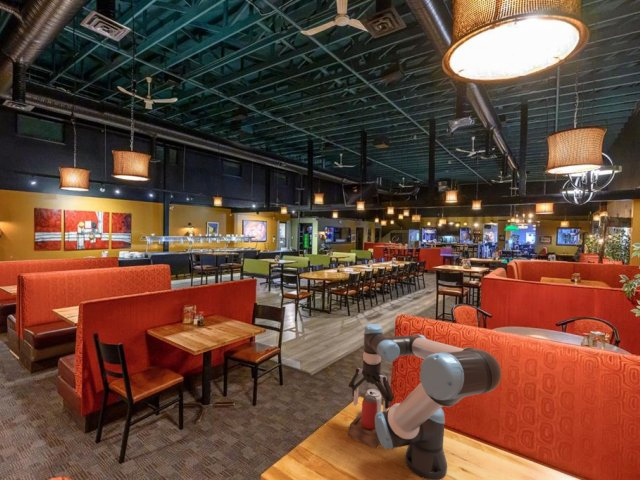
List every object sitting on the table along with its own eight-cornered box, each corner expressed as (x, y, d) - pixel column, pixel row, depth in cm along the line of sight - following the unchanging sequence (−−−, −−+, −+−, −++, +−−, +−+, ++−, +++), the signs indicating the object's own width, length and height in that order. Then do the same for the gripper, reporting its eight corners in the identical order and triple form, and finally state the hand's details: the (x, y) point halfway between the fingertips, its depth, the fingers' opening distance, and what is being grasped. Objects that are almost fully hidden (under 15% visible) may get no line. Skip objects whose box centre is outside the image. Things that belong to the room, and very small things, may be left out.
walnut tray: (388, 432, 139) (389, 420, 138) (376, 449, 128) (377, 436, 128) (361, 421, 146) (362, 410, 146) (348, 436, 135) (348, 424, 135)
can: (364, 411, 154) (365, 387, 154) (380, 413, 153) (381, 388, 153) (364, 420, 147) (365, 395, 146) (381, 422, 146) (382, 397, 145)
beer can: (376, 431, 132) (377, 403, 132) (360, 429, 134) (361, 401, 133) (376, 422, 139) (378, 395, 138) (361, 420, 140) (362, 393, 140)
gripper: (403, 365, 132) (401, 415, 133) (350, 351, 145) (348, 396, 146) (397, 372, 125) (394, 424, 126) (342, 356, 139) (340, 403, 140)
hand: (369, 409), depth 136 cm, fingers open, 13 cm apart
